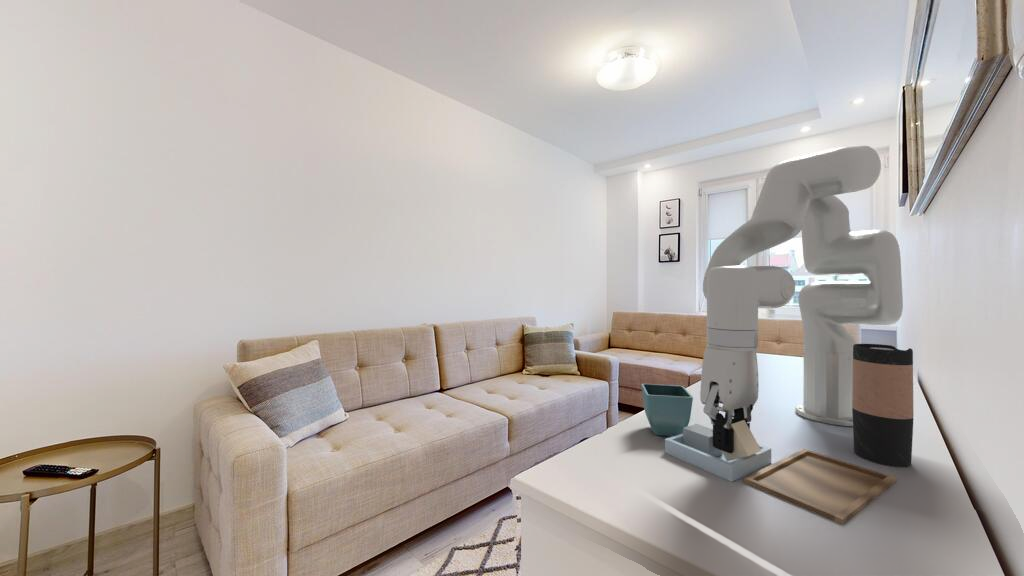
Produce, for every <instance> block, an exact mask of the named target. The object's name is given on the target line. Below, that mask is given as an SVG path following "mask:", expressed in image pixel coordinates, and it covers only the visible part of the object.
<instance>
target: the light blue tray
mask: <svg viewBox="0 0 1024 576" xmlns="http://www.w3.org/2000/svg"><path fill="white" fill-rule="evenodd" d="M758 445H759V447H760V449H761V451H759V452H757V453H755V454H752V455H750V456H747V457H743V458H739V459H735V460H730V461H727V460H726V458H725V456H724V454H723V455H721V456H719V457H714V456H711V455H709V454H706V453H704V452H701V451H699V450H696V449H694V448H691V447H689V446H686V445H684V444H683V433H682V434H679V435H676V436H669V437H667V438H664V453H665V454H668V455H670V456H672V457H674V458H676V459H679V460H681V461H683V462H686V463H688V464H691V465H692V466H695V467H697V468H700V469H701V470H703V471H706V472H708V473H711V474H713V475H716V476H717V477H720V478H722V479H723V480H726V481H729V482H731V483H733V482H735V481H737V480H739V479H741V478H743V477H746V476H748V475H750V474H751V473H752V474H753V473H755V471H756V472H757V471H759V470H761V469H763V468H765V467H767V466H769V465H771V464H772V448H771V447H767V446H764V445H762V444H759V443H758Z"/></svg>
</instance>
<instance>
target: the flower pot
mask: <svg viewBox="0 0 1024 576" xmlns="http://www.w3.org/2000/svg"><path fill="white" fill-rule="evenodd" d="M640 387H641V392H642V394H641V395H642V403H643V404H642V405H643V409H644V412H645V416H646V418H647V421H648V423H649V426H650V428H651V430H652V431H651V432H653V435H656V436H664V437H673V436H676V435H679V434H682V433H683V428H685V427H688V426H689V424H690V420H691V416H692V415H691V414H692V409H693V399H694V396H693V395H692V394H691V393H690V392H689V391H688V390H687V388H685V386H683V385H677V384H675V385H674V384H656V383H655V384H653V383H641V386H640Z"/></svg>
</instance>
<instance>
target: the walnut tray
mask: <svg viewBox="0 0 1024 576" xmlns="http://www.w3.org/2000/svg"><path fill="white" fill-rule="evenodd" d="M896 482H897V477H896V476H892V475H889V474H885V473H883V472H880V471H875V470H873V469H870V468H867V467H864V466H860V465H857V464H853V463H850V462H847V461H844V460H841V459H837V458H835V457H832V456H828V455H826V454H823V453H819V452H817V451H816V452H815V451H812V450H810V449H807V448H803V449H800V450H798V451H796V452H794V453H792V454H790V455H788V456H787V457H784V458H782V459H780V460H778V461H776V462H774V463H771V464H769V465H767V466H764V467H762V468H760V469H758V470H756V472H755V471H754V472H752V474H751V473H750V474H748V475H746V476H744V478H743V483H746V484H747V485H750V486H752V487H753V488H757V489H759V490H761V491H764V492H766V493H768V494H771V495H773V496H775V497H778V498H780V499H782V500H785V501H786V502H790V503H791V504H794V505H796V506H799V507H801V508H803V509H805V510H808V511H810V512H812V513H814V514H817V515H820V516H822V517H824V518H826V519H829V520H832V521H833V522H836V523H839V524H841V525H844V524H845V523H846V522H848V521H849V520H850V519H851V518H853V517H854V516H855V515H857V514H858V512H860V511H861V510H862V509H864V508H865V507H866V506H868V505H869V504H870V503H871V502H873V501H874V500H875V499H876V498H878V497H879V496H881V494H882V493H884V492H885V491H886V490H888V489H889V488H890V487H891V486H893V485H894V484H895V483H896Z"/></svg>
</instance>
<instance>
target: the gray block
mask: <svg viewBox="0 0 1024 576" xmlns="http://www.w3.org/2000/svg"><path fill="white" fill-rule="evenodd" d="M712 430H713V428H711V427H709V426H705V425H701V424H698V423H695V424H691V425H688V426H687V427H685V428H683V444H684V445H686V446H689V447H691V448H694V449H696V450H699V451H701V452H704V453H706V454H709V455H711V456H714V457H719V456H721V455H723V452H722V450H720V449H717V448H714V447H713V433H712Z"/></svg>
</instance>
